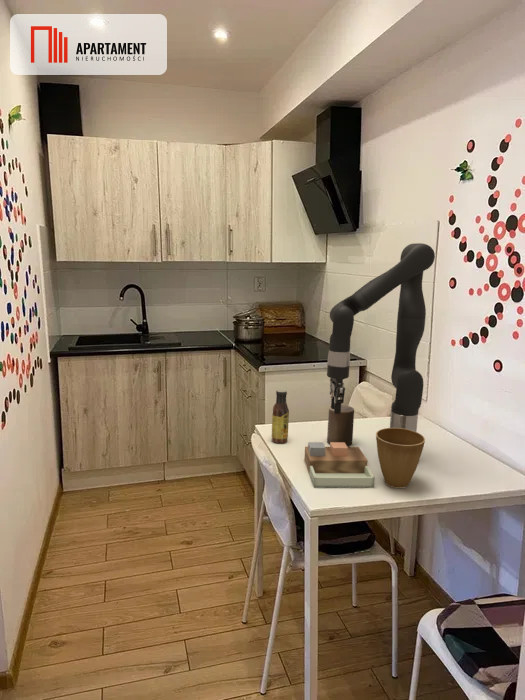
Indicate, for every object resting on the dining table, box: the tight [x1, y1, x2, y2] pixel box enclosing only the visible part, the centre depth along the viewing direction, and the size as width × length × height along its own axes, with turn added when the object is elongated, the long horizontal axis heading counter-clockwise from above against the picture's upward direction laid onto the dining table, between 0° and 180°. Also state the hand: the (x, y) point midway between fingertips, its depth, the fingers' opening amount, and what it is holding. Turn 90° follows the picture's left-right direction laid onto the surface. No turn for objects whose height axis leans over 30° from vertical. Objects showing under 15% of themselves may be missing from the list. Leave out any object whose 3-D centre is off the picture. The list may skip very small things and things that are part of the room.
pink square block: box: [329, 442, 349, 456], centre depth 173 cm, size 5×5×3 cm
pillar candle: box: [326, 404, 355, 447], centre depth 196 cm, size 10×10×15 cm
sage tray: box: [308, 465, 376, 489], centre depth 164 cm, size 19×9×3 cm, turn 93°
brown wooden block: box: [303, 446, 368, 474], centre depth 174 cm, size 19×12×5 cm, turn 93°
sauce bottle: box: [271, 389, 290, 444], centre depth 195 cm, size 7×6×20 cm
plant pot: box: [375, 427, 426, 489], centre depth 162 cm, size 15×15×16 cm
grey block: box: [307, 441, 326, 456], centre depth 173 cm, size 5×5×3 cm
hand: (335, 410), depth 179 cm, fingers open, 5 cm apart
